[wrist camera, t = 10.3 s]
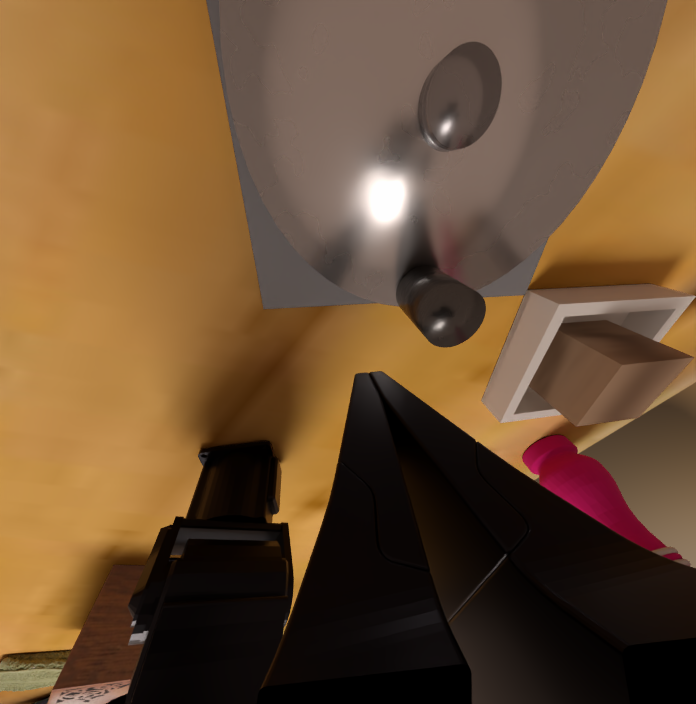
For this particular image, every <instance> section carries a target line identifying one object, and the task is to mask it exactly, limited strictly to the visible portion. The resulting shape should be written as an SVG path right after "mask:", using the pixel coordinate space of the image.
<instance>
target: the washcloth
mask: <svg viewBox="0 0 696 704" xmlns="http://www.w3.org/2000/svg"><path fill="white" fill-rule="evenodd" d="M70 652H71V650H66V651H55V652H44V653H32V654H15V655H9V656H8V657H7V658H4V659H3V660H2V662H1V663H0V692H1V691H3V690H4V691H10V690H11V691H14V692H15V691H24V690H31V689H37V688H41V687H42V688H43V687H49V686H53V685H55V683H56V681H57V679H58V677H59V675H60V673H61V671H62V669H63V667H64V665H65V663H66V661H67V659H68V657H69V654H70Z"/></svg>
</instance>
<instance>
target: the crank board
mask: <svg viewBox="0 0 696 704" xmlns="http://www.w3.org/2000/svg"><path fill="white" fill-rule="evenodd" d="M206 1H207V6H208V12H209V17H210V23H211V28H212V33H213V39H214V44H215V50H216V55H217V60H218V66H219V71H220V76H221V82H222V87H223V93H224V98H225V103H226V109H227V114H228V120H229V125H230V130H231V136H232V141H233V146H234V152H235V157H236V163H237V168H238V173H239V179H240V184H241V190H242V195H243V200H244V206H245V211H246V216H247V222H248V227H249V233H250V238H251V243H252V249H253V254H254V260H255V265H256V270H257V276H258V281H259V287H260V292H261V297H262V303H263V308H264V309H276V308H295V307H313V306H331V305H350V304H368V303H377V302H373V301H370V300H366V299H363V298H361V297H358V296H356V295H354V294H352V293H349V292H347V291H345V290H343V289H342V288H340V287H338V286H337V285H335V284H334V283H332V282H330V281H329V280H327V279H326V278H325V277H324V276H322V275H321V274H320V273H319V272H317V271H316V270H315V269H314V268H312V267H311V266H310V265H309V264H308V263H307V262H306V261H305V260H304V259H303V258H302V256H301V255H300V254H299V253H298V252H297V251H296V250H295V249H294V248H293V247H292V245H291V244H290V243H289V241H288V240H287V239H286V237H285V236H284V235H283V233H282V232H281V231H280V229H279V228H278V227H277V225H276V223H275V222H274V220H273V218H272V216H271V215H270V213H269V211H268V210H267V208H266V206H265V205H264V203H263V201H262V199H261V197H260V195H259V192H258V190H257V188H256V186H255V184H254V181H253V179H252V177H251V175H250V172H249V170H248V167H247V164H246V161H245V158H244V155H243V152H242V149H241V146H240V143H239V140H238V137H237V134H236V130H235V126H234V121H233V117H232V113H231V108H230V104H229V99H228V95H227V89H226V82H225V74H224V67H223V59H222V51H221V41H220V14H219V0H206ZM547 240H548V239H547ZM547 240H546V241H545V242H544V243H543V244H542V245H541V246H540V247H538V248H537V249H536V250H535V251H534V252H533V253H532V254H531V255H530V256H529V257H527V258H526V259H525V260H524V261H523V262H521V263H520V264H519V265H517V266H516V267H515V268H513V269H512V270H511V271H509V272H508V273H507V274H505V275H503V276H502V277H500V278H499V279H497V280H495V281H494V282H492V283H491V284H489V285H487V286H485V287H483V288H481V289H479V290H477V292H478V293H479V294H481V296H482V297H497V296H515V295H525V294H526V291H527V289H528V286H529V284H530V281H531V279H532V277H533V274H534V272H535V269H536V267H537V264H538V262H539V260H540V257H541V255H542V252H543V250H544V247H545V245H546V243H547Z"/></svg>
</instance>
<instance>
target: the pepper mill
mask: <svg viewBox="0 0 696 704" xmlns="http://www.w3.org/2000/svg"><path fill="white" fill-rule="evenodd" d="M577 452H578V450H577V447H576V446H575V445H574V444H573V443H572V442H570V441H569V440H568V439H567V438H566V437H565V436H562V435H552V436H548V437H546V438H543V439H541V440H539V441H537V442H535V443H534V444H533V445H531V446H530V447H529V448H528V449H527V450H526V451H525V453H524V454H523V457H522V459H523V462H524V463H525V465H526V466H527V467H528V468H529V470H530V471H531V472H532V473H534V474H537V475H539V478H540V479H539V481H540V485H542V486H543V487H545V488H547V489H548V490H550V491H551V492H553V493H554V494H556V495H558V496H559V497H561V498H562V499H564V500H566V501H567V502H569V503H570V504H572V505H573V506H575V507H577V508H578V509H580V510H581V511H583V512H585V513H586V514H588V515H589V516H591V517H592V518H594V519H596V520H597V521H599V522H600V523H602V524H604V525H605V526H607V527H608V528H610V529H611V530H613V531H615V532H616V533H618V534H620V535H621V536H623V537H625V538H627V539H628V540H630V541H632V542H634V543H636V544H638V545H640V546H641V547H643V548H646V549H648V550H650V551H652V552H654V553H656V554H658V555H661V556H663V557H666V558H668V559H670V560H673V561H675V562H678V563H681V564H684V565H687V566H690V562H689V561H688V560H686V559H682V556H681V555H680V554H678V551H677V550H676V549H675V548H673V547H666V546H665V545H664V544H663V543H662V542H661V541H660V540H658V539H657V538H656V537H655V536H654V535H652V534H651V533H650V532H649V531H648V530H647V529H646V528H645V526H643V524H641V522H640V521H639V520H638V519H637V518H636V517H635V515H634V514H633V513H632V511H631V510H630V509H629V507H628V505H627V504H626V502H625V500H624V499H623V497H622V494H621V492H620V490H619V488H618V486H617V484H616V482H615V481H614V479H613V478H612V476H611V475H610V473H609V472H608V471H607V470H606V469H605V468H604V467H603V466H602V465H601V464H600V463H599V462H598V461H597V460H595V459H593V458H591V457H588V456H584V455H580V454H577Z"/></svg>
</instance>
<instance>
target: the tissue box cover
mask: <svg viewBox="0 0 696 704" xmlns="http://www.w3.org/2000/svg"><path fill="white" fill-rule="evenodd" d="M144 567H145V565H113V567H112V569H111V571H110V573H109V575H108V577H107V579H106V581H105V583H104V585H103V587H102V589H101V591H100V593H99V595H98V598H97V600H96V602H95V604H94V606H93V608H92V610H91V612H90V614H89V616H88V618H87V620H86V622H85V624H84V626H83V628H82V630H81V632H80V634H79V636H78V638H77V640H76V642H75V644H74V646H73V648H72V650H71V652H70V654H69V657H68V659H67V661H66V663H65V665H64V667H63V669H62V671H61V673H60V675H59V677H58V679H57V681H56V683H55V685H54V687H53V689H52V692H51V694H50V697H49V700H48V703H47V704H125V701H126V697H127V693H128V689H129V685H130V681H131V677H132V674H133V671H134V668H135V665H136V662H137V660H138V657H139V654H140V651H141V648H142V645H143V644H137V645H128V643H129V640H130V638H131V635H132V632H133V629H134V627H131V624H132V621H133V618H132V616H131V614H130V611H129V609H128V604H129V602H130V599H131V597H132V594H133V592H134V590H135V588H136V585H137V583H138V581H139V579H140V576H141V574H142V572H143V570H144ZM130 627H131V628H130Z"/></svg>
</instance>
